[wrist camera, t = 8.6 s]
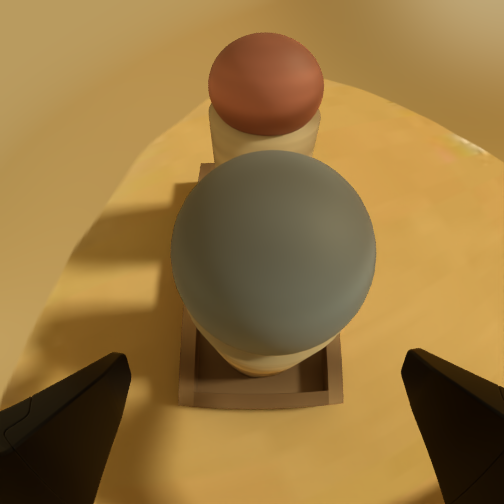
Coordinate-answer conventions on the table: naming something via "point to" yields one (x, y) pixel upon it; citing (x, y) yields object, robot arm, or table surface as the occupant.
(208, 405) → the doll tray
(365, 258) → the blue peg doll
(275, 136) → the red peg doll
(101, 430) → the robot arm
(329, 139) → the table surface
